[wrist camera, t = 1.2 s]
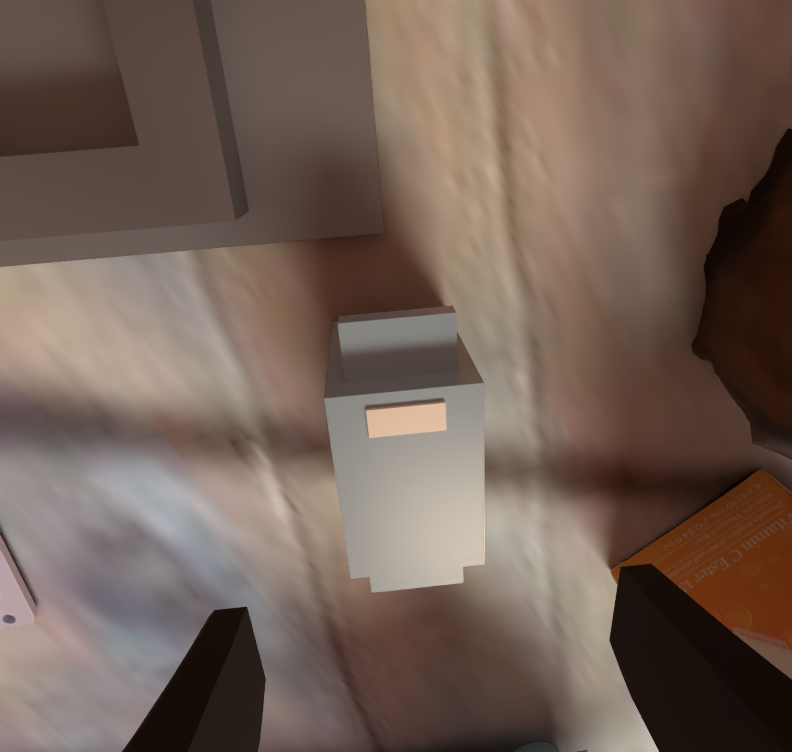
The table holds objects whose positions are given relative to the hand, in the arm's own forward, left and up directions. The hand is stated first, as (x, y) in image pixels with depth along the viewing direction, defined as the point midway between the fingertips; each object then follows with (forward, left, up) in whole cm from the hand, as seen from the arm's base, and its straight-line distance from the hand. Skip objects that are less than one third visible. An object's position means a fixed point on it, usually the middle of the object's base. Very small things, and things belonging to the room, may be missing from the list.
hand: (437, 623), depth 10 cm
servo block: (0, 0, -10) cm, 11 cm away
